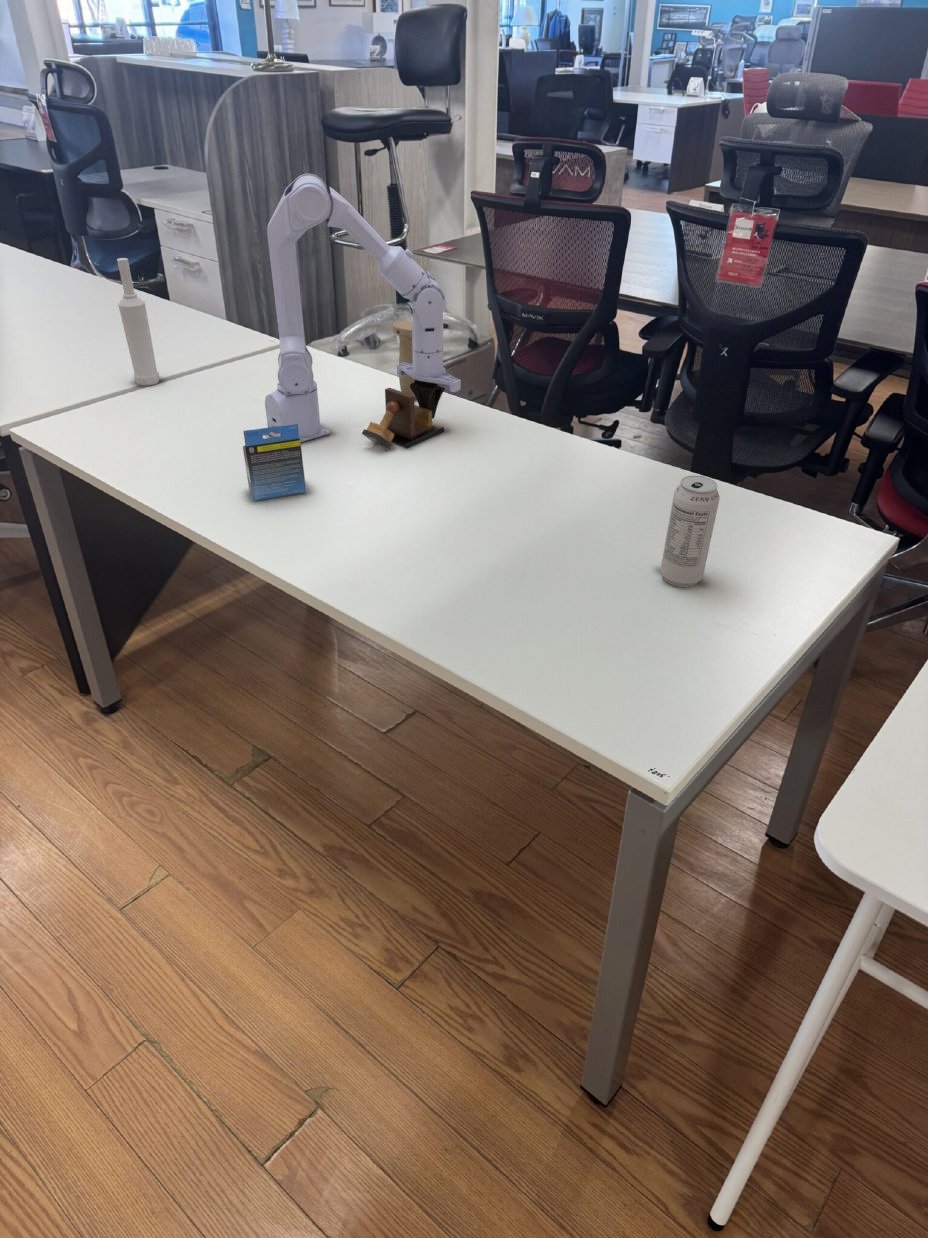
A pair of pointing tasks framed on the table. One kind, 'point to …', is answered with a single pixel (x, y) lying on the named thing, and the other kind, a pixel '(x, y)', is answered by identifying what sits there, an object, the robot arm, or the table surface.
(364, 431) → the stamp
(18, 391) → the table surface
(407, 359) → the handle
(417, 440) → the track
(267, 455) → the blue product box
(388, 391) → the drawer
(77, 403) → the table surface
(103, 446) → the table surface
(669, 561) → the energy drink can
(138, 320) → the bottle
